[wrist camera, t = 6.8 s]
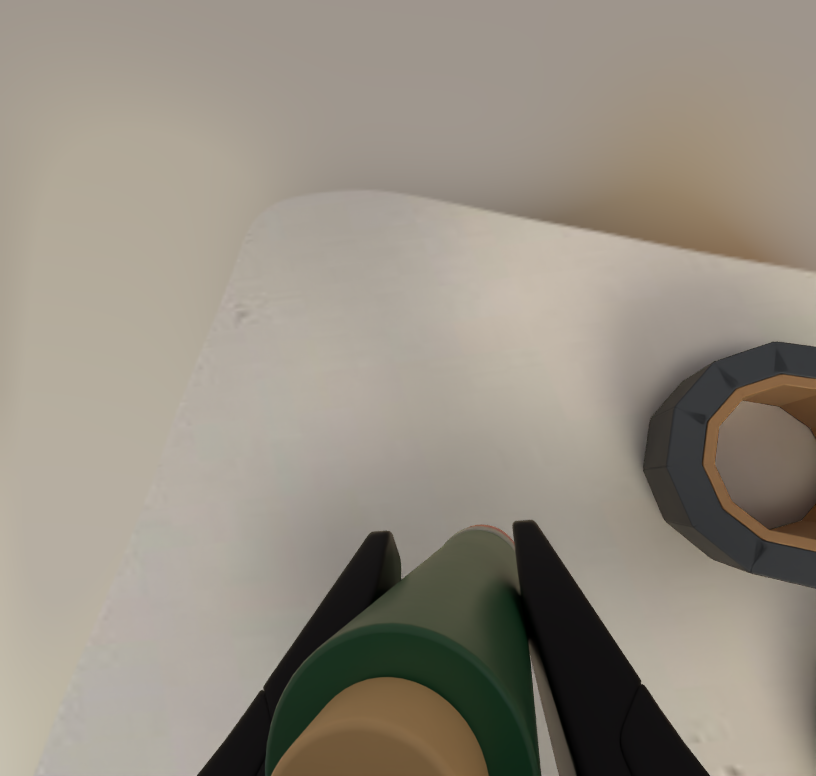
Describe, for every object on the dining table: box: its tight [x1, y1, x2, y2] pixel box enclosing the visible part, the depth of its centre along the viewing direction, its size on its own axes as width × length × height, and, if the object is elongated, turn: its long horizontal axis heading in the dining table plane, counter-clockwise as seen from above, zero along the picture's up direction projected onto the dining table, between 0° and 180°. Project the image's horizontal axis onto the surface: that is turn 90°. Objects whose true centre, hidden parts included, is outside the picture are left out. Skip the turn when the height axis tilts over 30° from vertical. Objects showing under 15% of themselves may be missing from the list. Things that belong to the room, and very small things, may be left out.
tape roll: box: [643, 342, 816, 588], centre depth 19 cm, size 8×8×4 cm
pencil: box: [265, 525, 541, 776], centre depth 10 cm, size 2×2×14 cm
